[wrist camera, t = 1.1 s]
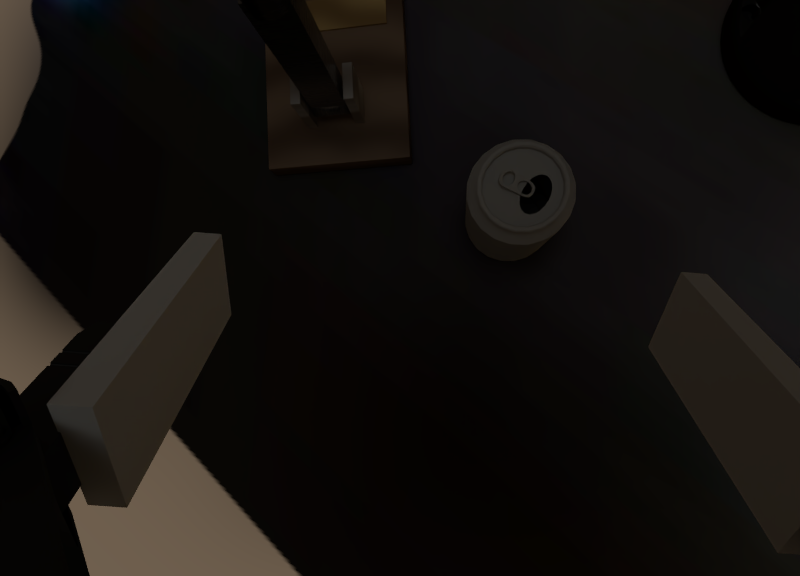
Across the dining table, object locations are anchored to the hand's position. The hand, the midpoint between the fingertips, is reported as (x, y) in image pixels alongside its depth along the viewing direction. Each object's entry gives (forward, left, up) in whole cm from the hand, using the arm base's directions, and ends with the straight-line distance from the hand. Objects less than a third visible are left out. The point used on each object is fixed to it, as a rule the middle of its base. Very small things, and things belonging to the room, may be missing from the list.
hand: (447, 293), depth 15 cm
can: (-8, -4, -31) cm, 32 cm away
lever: (-1, -21, -28) cm, 35 cm away
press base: (-3, -24, -30) cm, 39 cm away
